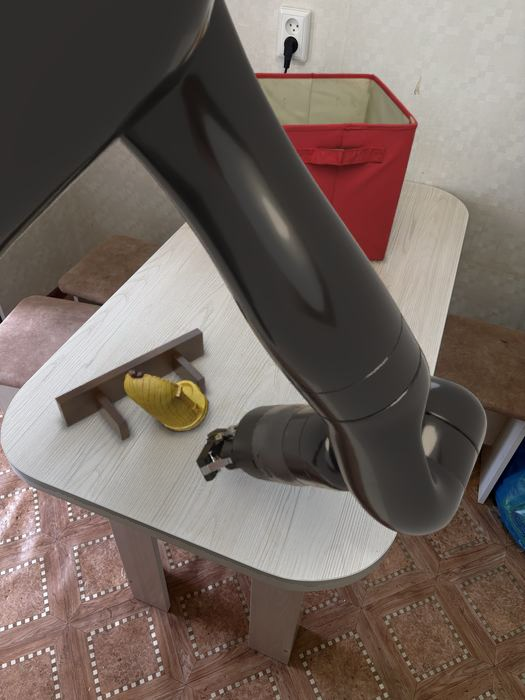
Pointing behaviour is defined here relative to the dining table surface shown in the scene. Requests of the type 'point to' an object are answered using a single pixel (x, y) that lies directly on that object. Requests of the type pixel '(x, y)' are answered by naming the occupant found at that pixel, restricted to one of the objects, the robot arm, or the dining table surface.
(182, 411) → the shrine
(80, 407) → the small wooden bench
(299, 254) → the robot arm
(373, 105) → the storage cube
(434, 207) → the dining table surface
